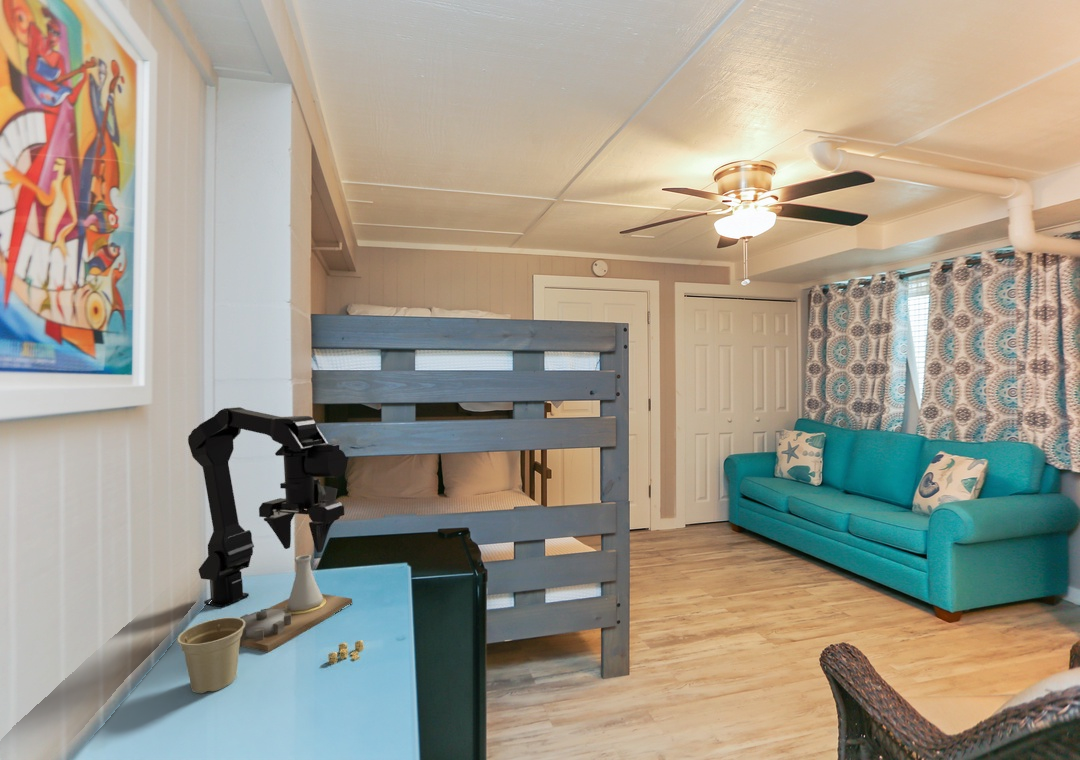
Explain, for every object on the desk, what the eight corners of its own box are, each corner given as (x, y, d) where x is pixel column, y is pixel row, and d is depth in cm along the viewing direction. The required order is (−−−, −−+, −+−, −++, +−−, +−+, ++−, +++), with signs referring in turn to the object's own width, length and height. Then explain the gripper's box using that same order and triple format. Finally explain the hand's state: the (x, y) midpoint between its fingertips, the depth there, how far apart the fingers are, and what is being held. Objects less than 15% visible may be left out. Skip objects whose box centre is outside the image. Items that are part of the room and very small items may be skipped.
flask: (287, 615, 107) (285, 565, 107) (285, 602, 113) (283, 556, 113) (325, 606, 111) (323, 558, 110) (321, 594, 117) (319, 549, 117)
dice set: (327, 668, 90) (326, 656, 90) (337, 652, 95) (336, 642, 95) (357, 665, 91) (357, 654, 91) (365, 650, 96) (365, 639, 96)
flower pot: (260, 667, 90) (257, 616, 90) (222, 701, 81) (219, 644, 81) (208, 666, 91) (206, 616, 91) (165, 700, 82) (162, 644, 82)
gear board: (212, 641, 100) (211, 619, 100) (304, 596, 120) (303, 577, 120) (265, 653, 95) (264, 630, 95) (352, 604, 115) (351, 584, 115)
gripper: (361, 470, 116) (364, 542, 116) (298, 468, 123) (301, 535, 123) (321, 480, 106) (325, 559, 106) (255, 477, 113) (259, 551, 113)
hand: (303, 550), depth 112 cm, fingers open, 9 cm apart
